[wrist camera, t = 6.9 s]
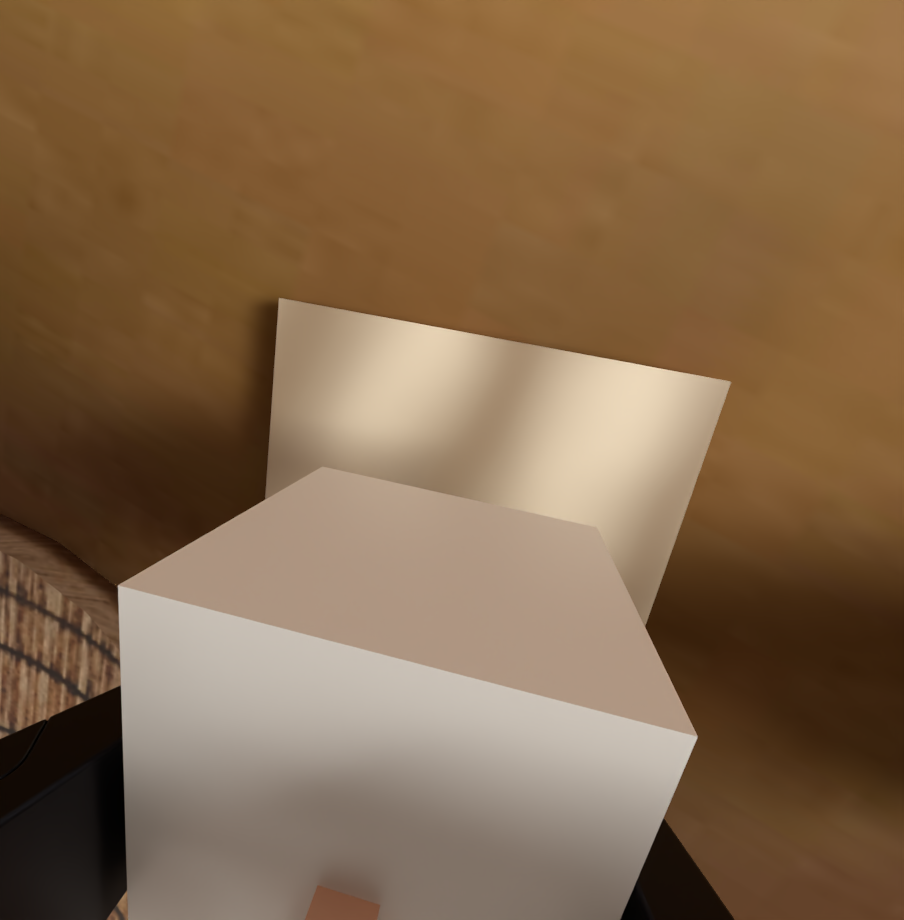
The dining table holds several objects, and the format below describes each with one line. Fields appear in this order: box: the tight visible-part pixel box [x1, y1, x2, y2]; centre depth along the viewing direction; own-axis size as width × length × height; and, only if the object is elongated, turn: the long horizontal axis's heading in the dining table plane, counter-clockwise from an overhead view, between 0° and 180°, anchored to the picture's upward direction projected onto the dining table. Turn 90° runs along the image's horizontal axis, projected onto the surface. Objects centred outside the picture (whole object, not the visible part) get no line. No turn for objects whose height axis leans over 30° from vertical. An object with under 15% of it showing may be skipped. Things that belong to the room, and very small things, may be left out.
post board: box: [265, 298, 731, 626], centre depth 13 cm, size 13×14×5 cm
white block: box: [118, 466, 698, 920], centre depth 7 cm, size 6×7×5 cm
